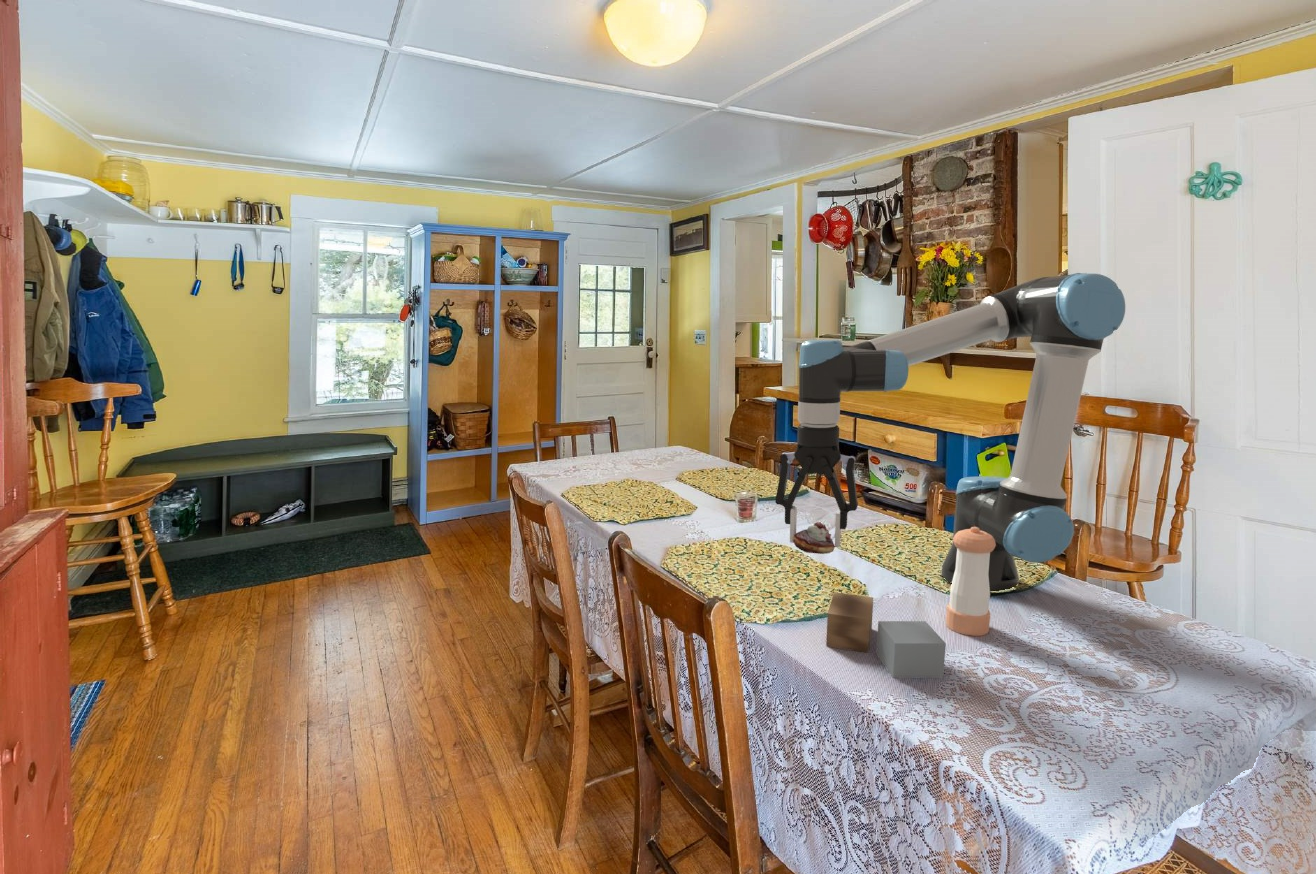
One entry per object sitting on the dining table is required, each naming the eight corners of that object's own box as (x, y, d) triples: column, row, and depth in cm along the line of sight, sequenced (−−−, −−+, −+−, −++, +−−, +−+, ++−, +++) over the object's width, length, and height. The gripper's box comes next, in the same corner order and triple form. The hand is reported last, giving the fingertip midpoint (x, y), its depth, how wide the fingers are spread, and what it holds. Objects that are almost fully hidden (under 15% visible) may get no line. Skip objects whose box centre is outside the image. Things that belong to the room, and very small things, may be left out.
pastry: (841, 553, 125) (842, 527, 124) (802, 556, 123) (803, 529, 123) (823, 540, 133) (824, 515, 132) (786, 542, 131) (787, 517, 130)
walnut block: (871, 628, 125) (873, 597, 124) (868, 652, 116) (869, 619, 115) (832, 622, 127) (834, 592, 126) (826, 645, 118) (827, 613, 117)
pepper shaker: (948, 615, 131) (956, 519, 127) (990, 623, 127) (999, 525, 124) (943, 630, 124) (950, 529, 121) (987, 639, 121) (996, 535, 118)
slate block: (923, 654, 116) (925, 621, 115) (943, 678, 108) (945, 643, 107) (876, 654, 116) (878, 621, 115) (892, 678, 108) (895, 643, 107)
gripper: (877, 423, 126) (872, 542, 129) (767, 419, 133) (765, 531, 136) (875, 429, 119) (869, 554, 122) (759, 424, 126) (757, 543, 130)
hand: (815, 542), depth 129 cm, fingers closed on pastry, 8 cm apart
